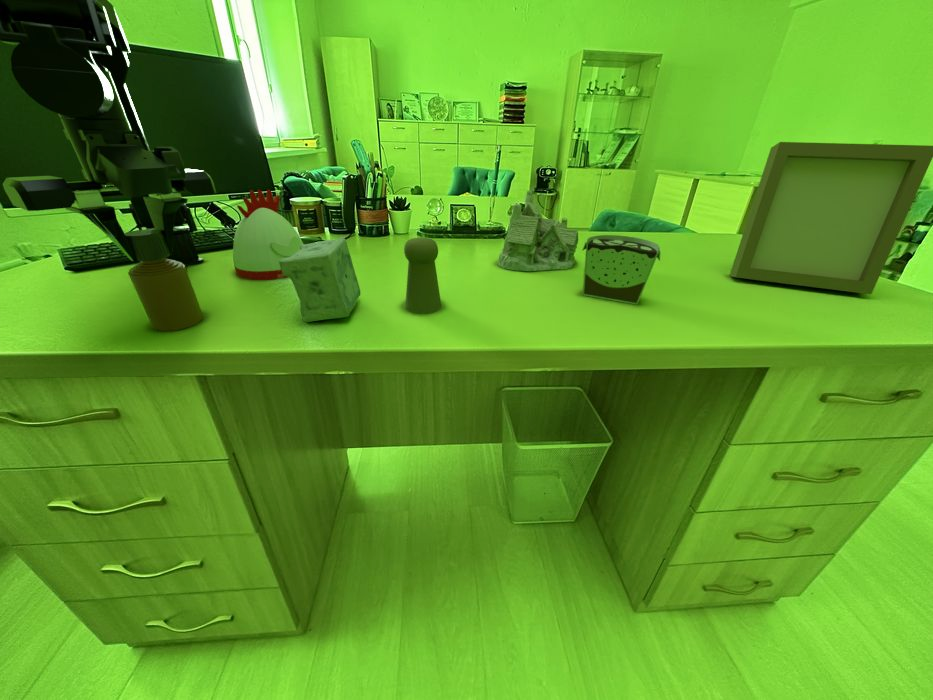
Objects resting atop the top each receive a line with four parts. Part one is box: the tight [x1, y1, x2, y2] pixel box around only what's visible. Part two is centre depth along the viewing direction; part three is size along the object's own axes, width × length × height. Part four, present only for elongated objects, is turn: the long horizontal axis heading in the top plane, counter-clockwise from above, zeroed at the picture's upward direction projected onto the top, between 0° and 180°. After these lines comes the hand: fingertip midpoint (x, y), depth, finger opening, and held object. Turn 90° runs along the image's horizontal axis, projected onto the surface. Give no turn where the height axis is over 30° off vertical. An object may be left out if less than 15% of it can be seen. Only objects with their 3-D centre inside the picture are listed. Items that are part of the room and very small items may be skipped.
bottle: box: [127, 258, 205, 332], centre depth 51 cm, size 6×6×12 cm
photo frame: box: [729, 141, 933, 295], centre depth 72 cm, size 15×22×25 cm
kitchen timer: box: [232, 189, 304, 281], centre depth 72 cm, size 14×14×15 cm
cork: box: [403, 237, 443, 315], centre depth 58 cm, size 6×6×11 cm
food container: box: [582, 234, 662, 305], centre depth 65 cm, size 12×6×10 cm, turn 65°
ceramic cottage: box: [497, 190, 579, 272], centre depth 80 cm, size 16×16×15 cm
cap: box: [124, 228, 170, 262], centre depth 48 cm, size 4×4×3 cm
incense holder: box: [279, 237, 361, 323], centre depth 56 cm, size 10×8×10 cm
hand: (152, 257), depth 49 cm, fingers closed on cap, 4 cm apart
